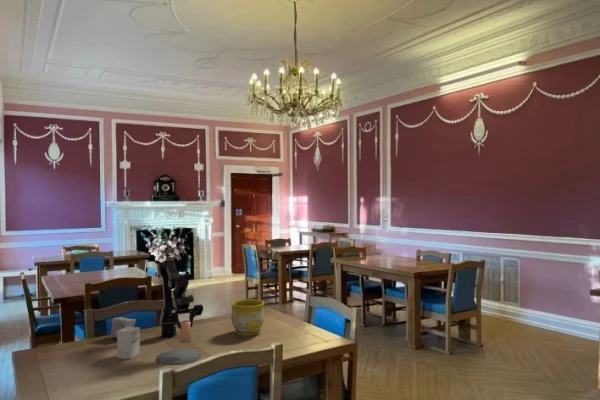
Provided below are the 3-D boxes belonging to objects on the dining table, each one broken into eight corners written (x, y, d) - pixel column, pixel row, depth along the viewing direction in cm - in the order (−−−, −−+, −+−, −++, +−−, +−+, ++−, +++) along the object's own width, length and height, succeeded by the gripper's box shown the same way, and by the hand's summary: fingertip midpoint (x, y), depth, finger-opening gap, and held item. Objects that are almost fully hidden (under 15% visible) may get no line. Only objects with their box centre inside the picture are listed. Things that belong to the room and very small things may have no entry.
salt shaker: (177, 341, 213) (177, 322, 213) (185, 338, 217) (185, 319, 217) (184, 343, 210) (184, 324, 210) (193, 340, 214) (193, 321, 214)
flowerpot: (271, 331, 252) (271, 301, 252) (250, 339, 237) (250, 308, 237) (245, 326, 262) (245, 297, 262) (224, 334, 247) (224, 303, 247)
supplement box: (131, 359, 209) (131, 331, 209) (116, 358, 210) (116, 330, 210) (140, 354, 216) (140, 327, 216) (125, 352, 218) (125, 326, 218)
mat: (148, 363, 204) (148, 362, 204) (168, 348, 224) (168, 347, 224) (190, 366, 200) (190, 365, 200) (207, 351, 220) (207, 350, 220)
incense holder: (136, 336, 243) (136, 317, 243) (124, 341, 235) (123, 321, 235) (122, 334, 247) (122, 315, 247) (110, 338, 240) (110, 318, 240)
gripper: (162, 291, 212) (168, 321, 203) (202, 287, 221) (209, 315, 211) (159, 304, 219) (164, 334, 210) (197, 300, 228) (204, 328, 218)
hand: (185, 327), depth 212 cm, fingers closed on salt shaker, 5 cm apart
